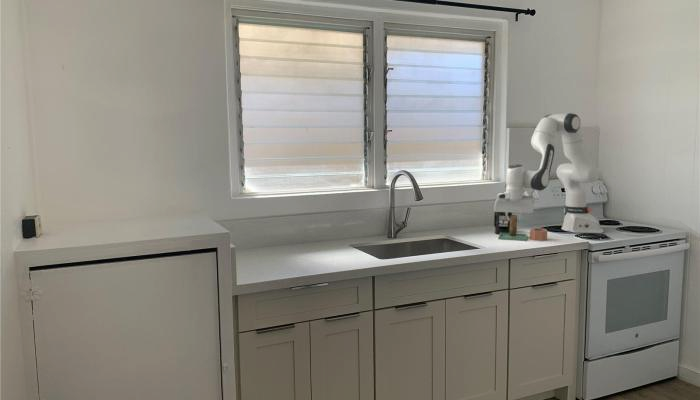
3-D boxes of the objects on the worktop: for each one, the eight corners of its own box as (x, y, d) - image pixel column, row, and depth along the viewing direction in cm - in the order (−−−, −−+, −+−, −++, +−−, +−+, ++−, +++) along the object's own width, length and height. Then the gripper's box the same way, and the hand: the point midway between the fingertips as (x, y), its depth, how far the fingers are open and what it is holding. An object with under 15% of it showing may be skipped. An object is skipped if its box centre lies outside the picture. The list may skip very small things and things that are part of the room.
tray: (526, 237, 290) (527, 234, 290) (525, 242, 277) (526, 239, 277) (500, 236, 295) (500, 232, 295) (498, 241, 282) (498, 237, 282)
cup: (546, 239, 284) (547, 228, 283) (546, 243, 276) (547, 231, 276) (530, 238, 287) (530, 227, 286) (529, 242, 279) (530, 230, 278)
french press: (516, 234, 301) (517, 193, 298) (504, 235, 296) (505, 194, 293) (500, 230, 311) (502, 191, 308) (488, 232, 307) (490, 192, 304)
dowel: (516, 235, 287) (517, 215, 286) (516, 236, 284) (517, 216, 282) (509, 234, 288) (510, 214, 287) (509, 236, 285) (509, 215, 283)
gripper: (535, 195, 283) (534, 220, 284) (495, 193, 289) (494, 219, 291) (534, 196, 277) (533, 222, 278) (494, 195, 284) (493, 220, 285)
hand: (513, 220), depth 285 cm, fingers closed on dowel, 3 cm apart
